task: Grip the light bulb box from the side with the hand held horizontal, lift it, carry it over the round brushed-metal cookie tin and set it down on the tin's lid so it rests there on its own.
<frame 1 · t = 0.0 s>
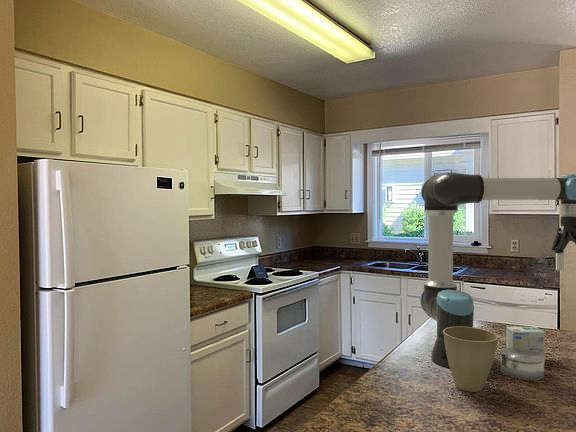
hand: (571, 272, 166), 28 cm above the countertop, tool pointing down, fingers open, 13 cm apart
plant pot: (469, 387, 132), on the countertop
light bulb box: (524, 360, 154), on the countertop
cookie tin: (521, 372, 143), on the countertop
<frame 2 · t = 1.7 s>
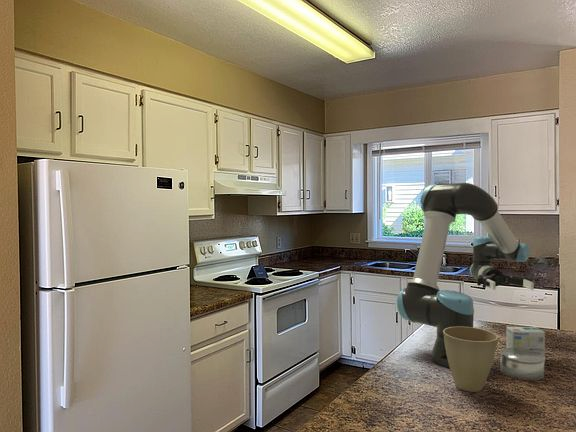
hand: (513, 286, 163), 24 cm above the countertop, tool horizontal, fingers open, 13 cm apart
nothing on the countertop moved.
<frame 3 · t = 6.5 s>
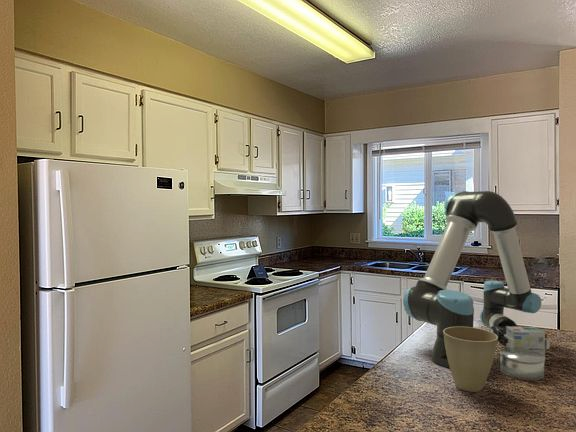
hand: (530, 344, 150), 7 cm above the countertop, tool horizontal, fingers closed on light bulb box, 11 cm apart
light bulb box: (524, 360, 154), on the countertop, touching gripper
everything else where it was.
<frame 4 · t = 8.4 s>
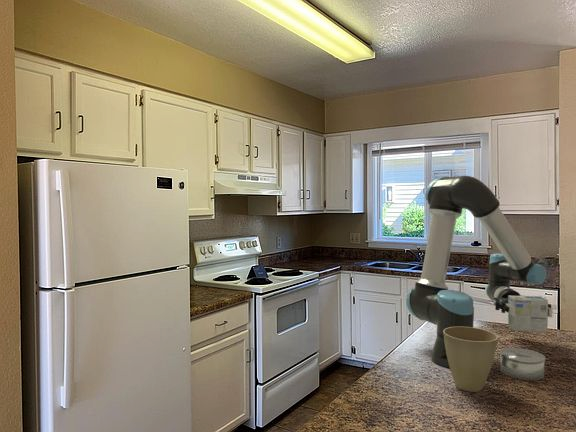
hand: (532, 312, 146), 18 cm above the countertop, tool horizontal, fingers closed on light bulb box, 11 cm apart
light bulb box: (527, 329, 150), point 12 cm above the countertop, touching gripper
everything else where it was.
when the fingers open (14 cm above the countertop, at t = 10.4 s): light bulb box drops 2 cm, resting on cookie tin.
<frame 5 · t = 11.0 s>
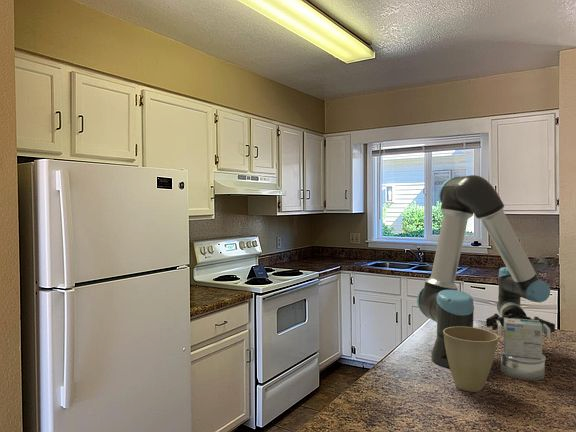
hand: (524, 331, 139), 14 cm above the countertop, tool horizontal, fingers open, 13 cm apart
light bulb box: (522, 354, 143), point 6 cm above the countertop, touching cookie tin
cookie tin: (522, 372, 143), on the countertop, touching light bulb box
everything else where it was.
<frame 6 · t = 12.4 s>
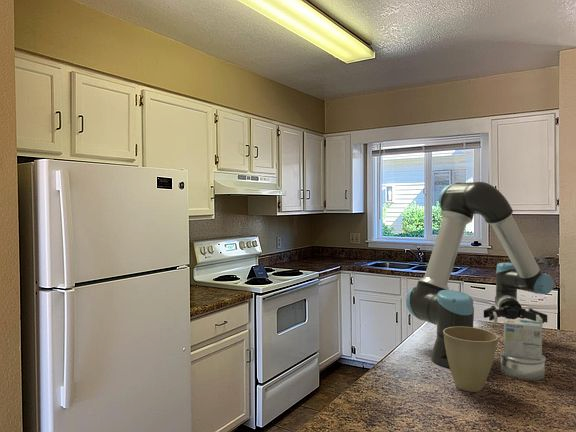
hand: (518, 321, 150), 14 cm above the countertop, tool horizontal, fingers open, 13 cm apart
nothing on the countertop moved.
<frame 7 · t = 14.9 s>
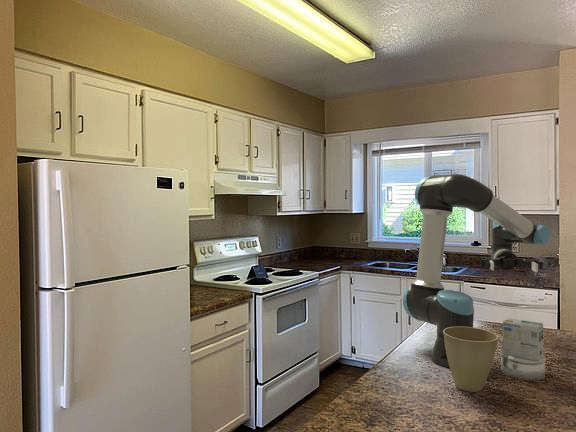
hand: (514, 267, 153), 32 cm above the countertop, tool horizontal, fingers open, 13 cm apart
at the end: light bulb box inside the target area on the cookie tin (0.0 cm from its centre), point 5.8 cm above the cookie tin's base; the gripper is holding nothing; light bulb box tilted 0° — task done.
